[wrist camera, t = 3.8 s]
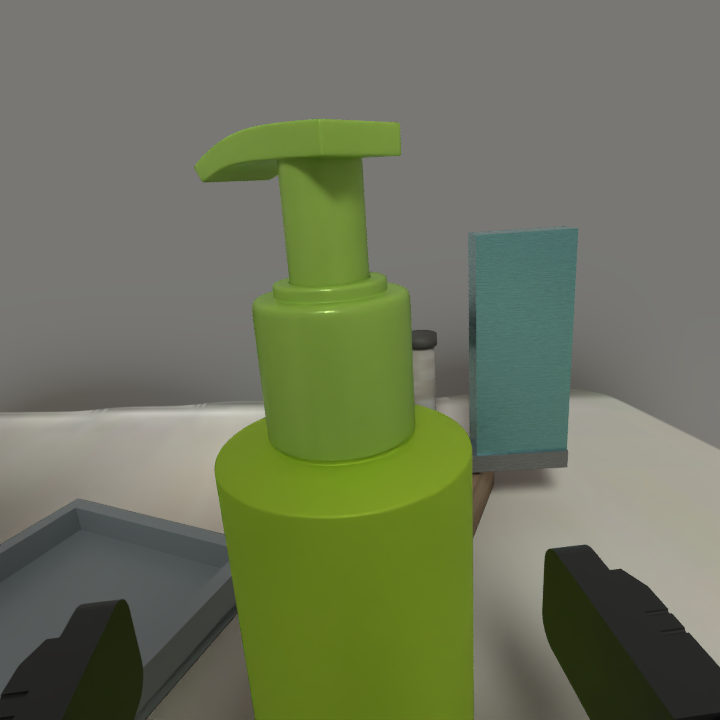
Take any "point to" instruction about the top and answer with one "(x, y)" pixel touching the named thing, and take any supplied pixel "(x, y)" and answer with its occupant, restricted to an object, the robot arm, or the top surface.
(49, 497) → the top surface
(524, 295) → the teal upright panel
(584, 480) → the top surface
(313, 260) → the soap dispenser
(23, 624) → the tray
